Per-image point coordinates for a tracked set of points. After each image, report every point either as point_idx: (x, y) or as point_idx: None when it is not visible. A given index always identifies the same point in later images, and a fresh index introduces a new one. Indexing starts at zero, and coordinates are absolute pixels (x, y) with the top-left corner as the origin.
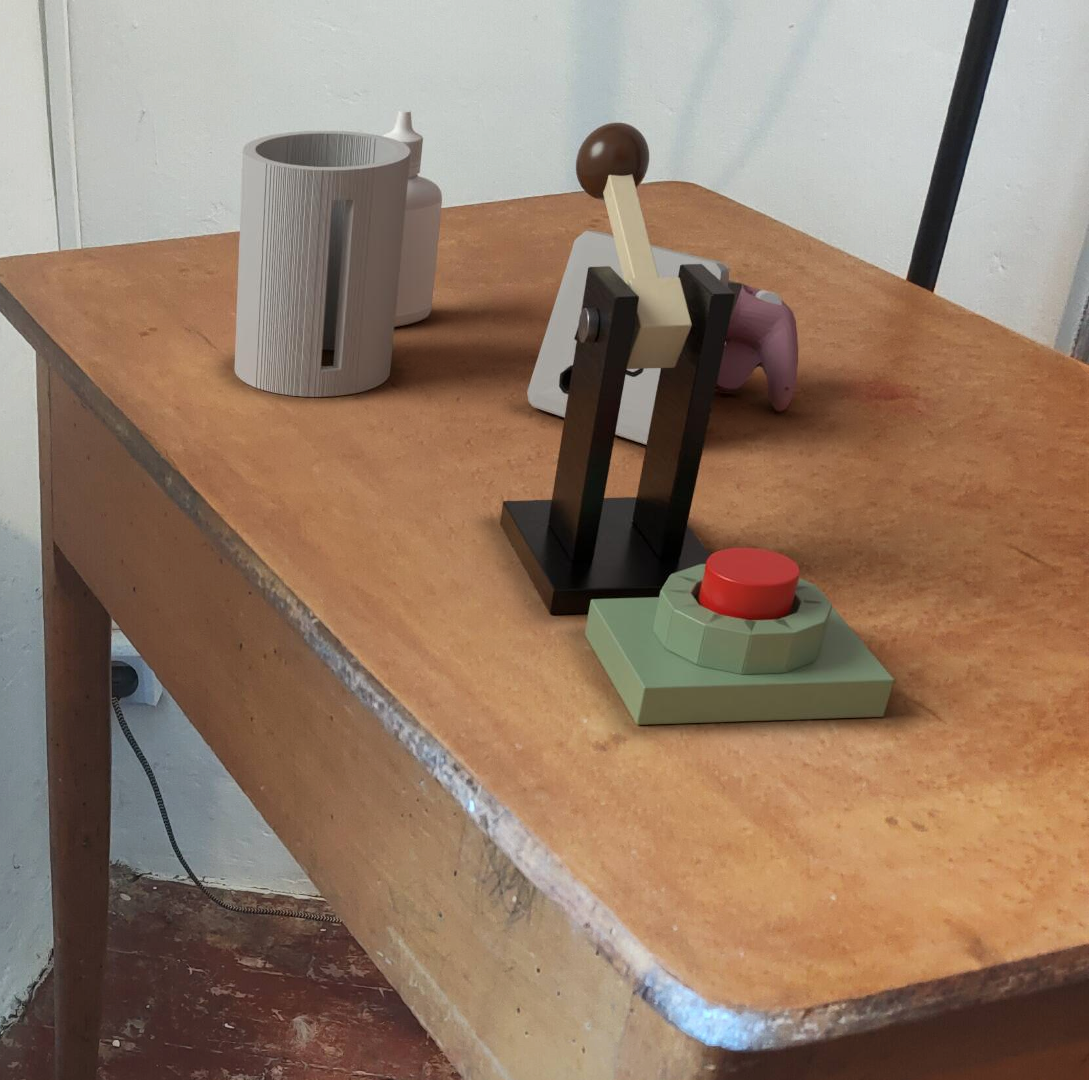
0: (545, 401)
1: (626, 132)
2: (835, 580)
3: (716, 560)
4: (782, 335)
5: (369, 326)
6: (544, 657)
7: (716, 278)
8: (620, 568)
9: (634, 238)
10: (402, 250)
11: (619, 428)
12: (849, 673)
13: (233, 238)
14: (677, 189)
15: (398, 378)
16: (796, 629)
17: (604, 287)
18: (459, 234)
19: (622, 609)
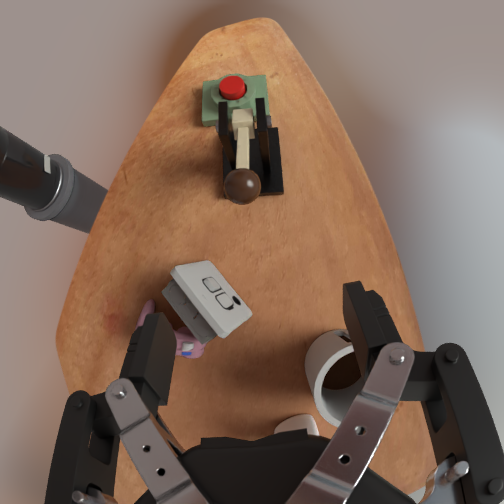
0: (246, 306)
1: (237, 172)
2: (185, 156)
3: (240, 86)
4: (143, 317)
5: (323, 340)
6: (283, 109)
7: (219, 117)
8: (254, 140)
9: (243, 144)
10: (294, 429)
11: (221, 275)
12: (212, 83)
13: None
14: None
15: (301, 353)
16: (226, 75)
17: (265, 109)
18: None
19: None
